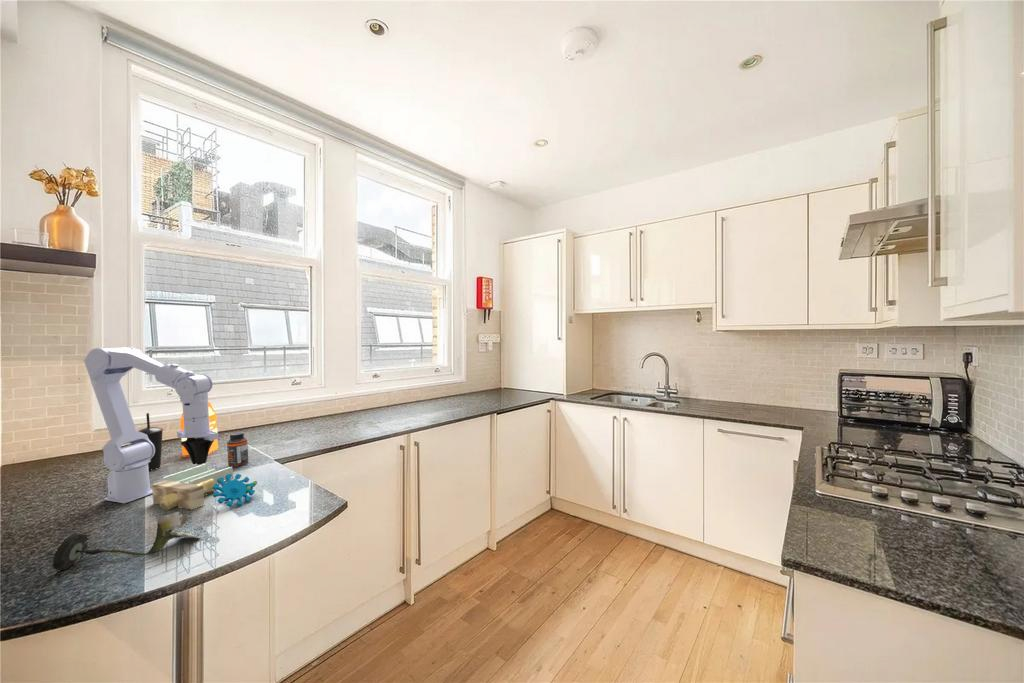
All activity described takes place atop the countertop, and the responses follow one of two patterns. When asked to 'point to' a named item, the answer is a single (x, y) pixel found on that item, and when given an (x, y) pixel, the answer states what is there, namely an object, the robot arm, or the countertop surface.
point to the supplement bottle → (237, 449)
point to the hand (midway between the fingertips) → (199, 463)
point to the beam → (179, 493)
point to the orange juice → (212, 427)
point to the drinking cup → (156, 439)
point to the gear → (234, 490)
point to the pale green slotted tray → (198, 475)
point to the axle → (172, 498)
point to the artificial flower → (76, 546)
